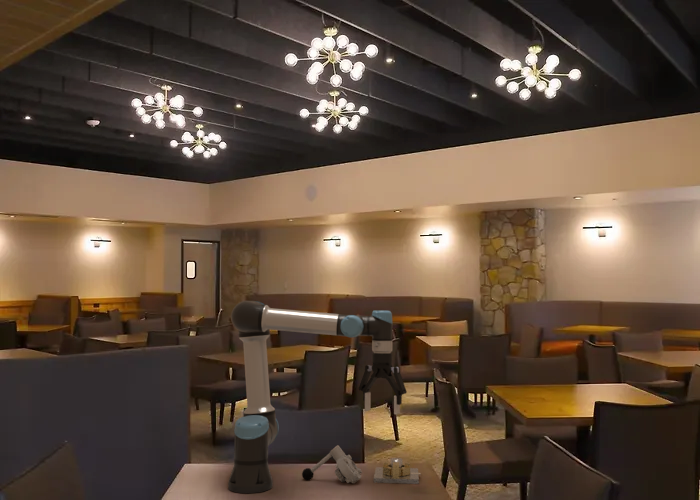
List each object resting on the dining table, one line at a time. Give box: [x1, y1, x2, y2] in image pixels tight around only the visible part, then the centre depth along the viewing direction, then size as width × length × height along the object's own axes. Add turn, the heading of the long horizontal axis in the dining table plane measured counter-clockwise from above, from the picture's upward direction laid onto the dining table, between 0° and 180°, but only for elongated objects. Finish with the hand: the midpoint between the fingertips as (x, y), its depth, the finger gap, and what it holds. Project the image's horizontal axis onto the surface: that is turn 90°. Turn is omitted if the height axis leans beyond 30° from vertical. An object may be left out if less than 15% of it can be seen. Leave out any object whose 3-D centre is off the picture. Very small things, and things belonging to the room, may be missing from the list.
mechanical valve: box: [301, 444, 363, 484], centre depth 219 cm, size 10×18×15 cm
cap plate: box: [373, 457, 421, 485], centre depth 224 cm, size 17×16×6 cm
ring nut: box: [382, 461, 411, 479], centre depth 222 cm, size 14×10×5 cm
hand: (382, 412), depth 222 cm, fingers open, 12 cm apart
